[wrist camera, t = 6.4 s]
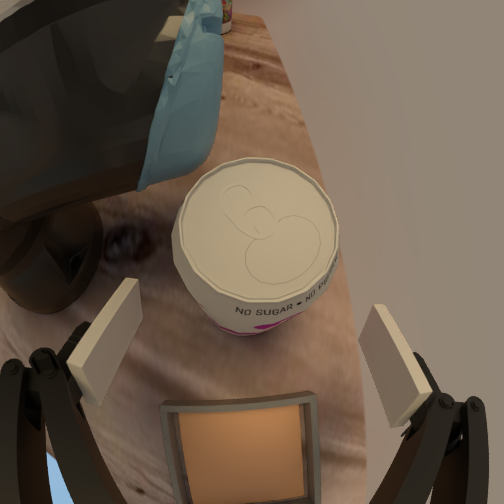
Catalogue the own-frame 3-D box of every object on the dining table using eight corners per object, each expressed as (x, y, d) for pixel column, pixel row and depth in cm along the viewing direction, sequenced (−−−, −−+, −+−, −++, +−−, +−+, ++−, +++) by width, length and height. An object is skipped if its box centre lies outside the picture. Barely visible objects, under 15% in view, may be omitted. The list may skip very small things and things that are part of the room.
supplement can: (305, 297, 26) (382, 234, 12) (239, 354, 24) (249, 362, 10) (249, 236, 28) (267, 126, 14) (183, 287, 25) (131, 211, 11)
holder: (314, 499, 18) (321, 510, 16) (184, 510, 17) (180, 521, 15) (308, 390, 23) (316, 394, 20) (165, 400, 22) (158, 405, 19)
